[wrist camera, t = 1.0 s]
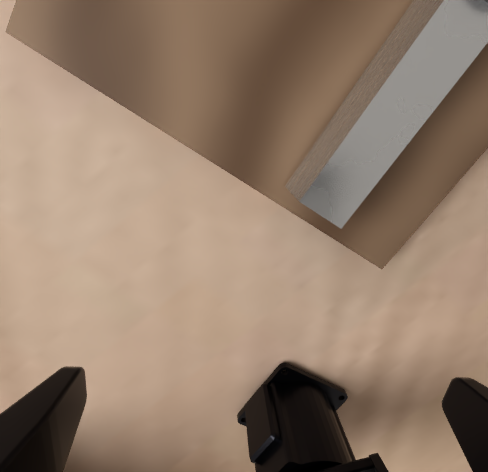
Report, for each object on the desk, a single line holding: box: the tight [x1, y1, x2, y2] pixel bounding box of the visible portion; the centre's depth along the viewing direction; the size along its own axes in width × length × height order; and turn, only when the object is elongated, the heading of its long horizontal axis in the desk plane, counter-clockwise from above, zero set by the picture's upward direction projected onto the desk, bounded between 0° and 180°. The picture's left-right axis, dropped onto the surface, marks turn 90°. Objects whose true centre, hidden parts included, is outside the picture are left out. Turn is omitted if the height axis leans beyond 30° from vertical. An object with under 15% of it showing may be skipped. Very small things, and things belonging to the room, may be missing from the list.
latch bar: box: [285, 0, 488, 229], centre depth 13 cm, size 12×3×4 cm, turn 147°
